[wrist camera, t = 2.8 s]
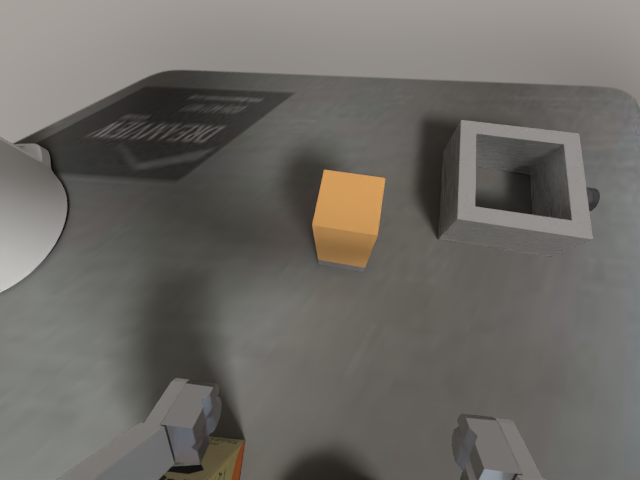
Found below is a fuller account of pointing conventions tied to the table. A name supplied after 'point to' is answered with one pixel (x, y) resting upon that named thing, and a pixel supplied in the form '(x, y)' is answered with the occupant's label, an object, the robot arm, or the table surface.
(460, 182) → the white shallow box
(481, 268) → the table surface
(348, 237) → the plug
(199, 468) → the shoe polish box
